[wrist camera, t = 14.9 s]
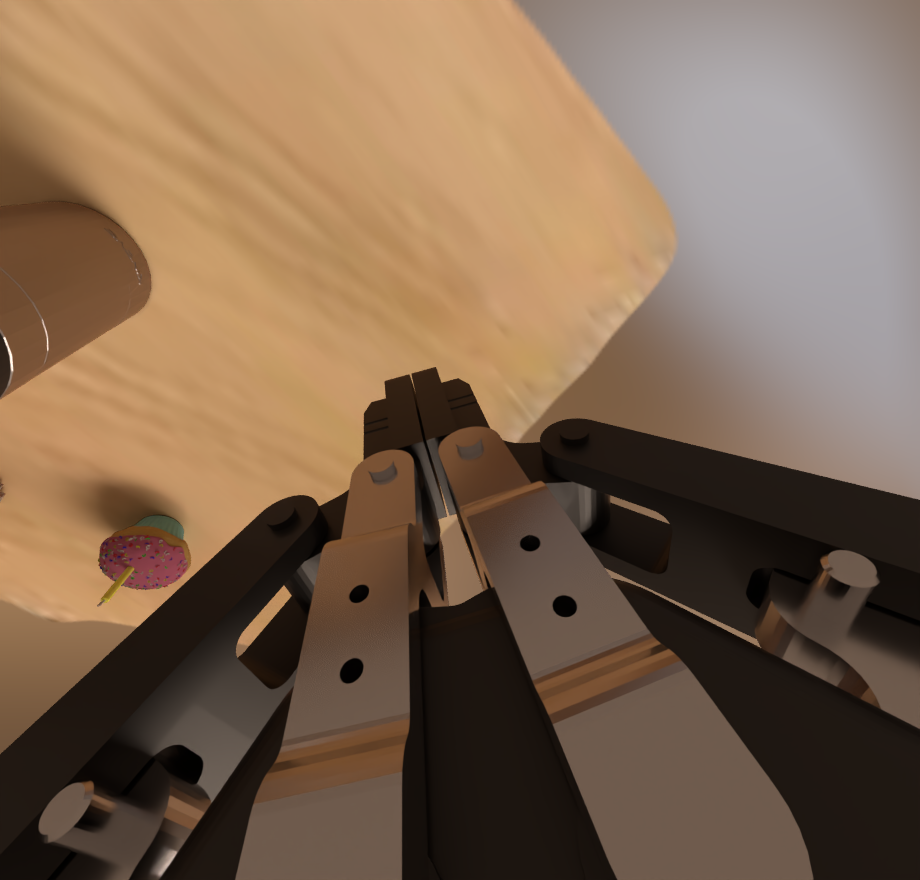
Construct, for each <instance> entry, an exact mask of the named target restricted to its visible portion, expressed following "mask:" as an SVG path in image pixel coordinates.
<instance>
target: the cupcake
mask: <svg viewBox="0 0 920 880" xmlns="http://www.w3.org/2000/svg"><path fill="white" fill-rule="evenodd" d="M183 536H184V530H183V527H182V526H181V524H180V523H179V522H177V521H176V520H174V519H172V518H170V517H167V516H161V515H153V516H148V517H146V518H144V519H142V520H141V521H140V522H138V523H137V524H136V525H134V526H131V527H128V528H126V529H124V530H121V531H117V532H115V533H114V534H113V535H112V536H111V537H109V538H107V539H106V540H105V541H104V542H103V543H102V544H101V547H100V555H99V559H98V561H99V563H100V564H99V566H100V565H101V566H100V569H102V572H103V573H104V574H105V575H107V576H108V577H109V578H110V579H112V580H113V581H115V583H114V584H113V585H112V586H111V587H110V589H109V590H108V591H107V592H106V593H105V595H104V596H103V597H102V598H101V602H100V603H99V605H97V606H98V607H99V606H101V605H102V603H107V602H108V601H109V600H110V599H111V598H112V596H113V595H114V594H115V593H116V591H117V590H118V589H119V588H120V586H122V585H124V586H125V587H129V588H133V589H134V588H135V589H137V590H138V589H145V590H146V589H159V588H161V587H166V586H167V585H169V584H171V583H173V582H176V581H177V580H178V579H180V578H181V577H182V575H183V574H184V573H185V572H186V571H187V570H188V569H189V567H190V564H191V555H190V552H189V548H188V545H187V543H186V542H185V541H184V540H183Z"/></svg>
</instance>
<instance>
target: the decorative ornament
mask: <svg viewBox="0 0 920 880" xmlns="http://www.w3.org/2000/svg"><path fill="white" fill-rule="evenodd" d="M3 485H4V484H1V483H0V489H1V488H2V486H3ZM5 494H6V493H3V492H0V501H1V500H2V498H3V497H4V495H5Z"/></svg>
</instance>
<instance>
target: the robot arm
mask: <svg viewBox="0 0 920 880" xmlns="http://www.w3.org/2000/svg"><path fill="white" fill-rule="evenodd" d="M150 291H151V275H150V271H149V268H148V264H147V262H146V260H145V258H144V256H143V254H142V252H141V250H140V249H139V248H138V246H137V245H136V243H135V242H134V241H133V239H132V238H131V237H130V236H129V235H128V234H127V233H126V232H125V231H124V230H123V229H122V228H121V227H119V226H118V225H117V224H115V223H114V222H113V221H111V220H110V219H109V218H107V217H105V216H104V215H102V214H100V213H98V212H96V211H94V210H92V209H89V208H87V207H84V206H81V205H78V204H73V203H68V202H42V203H32V204H23V205H10V206H1V207H0V399H2V398H3V397H5V396H6V395H8V394H10V393H11V392H13V391H14V390H16V389H17V388H19V387H21V386H22V385H24V384H25V383H27V382H28V381H30V380H31V379H33V378H34V377H36V376H38V375H39V374H41V373H42V372H44V371H45V370H47V369H49V368H50V367H52V366H53V365H55V364H57V363H58V362H60V361H61V360H63V359H65V358H66V357H68V356H69V355H71V354H72V353H74V352H76V351H77V350H79V349H80V348H82V347H84V346H85V345H87V344H88V343H90V342H91V341H93V340H95V339H96V338H98V337H99V336H101V335H103V334H104V333H106V332H107V331H109V330H111V329H112V328H114V327H116V326H117V325H119V324H120V323H122V322H124V321H125V320H127V319H128V318H130V317H132V316H133V315H135V314H136V313H138V312H139V311H140V310H141V309H142V308H143V307H144V306H145V304H146V302H147V300H148V298H149V295H150ZM412 379H413V383H414V387H413V384H412V380H411V377H410V375H405V376H401V377H398V378H394V379H390V380H387V381H385V393H386V398H385V399H382V400H378V401H375V402H371V404H370V405H369V407H368V408H367V410H366V411H365V413H364V460H363V461H362V462H361V463H360V464H359V465H358V466H357V467H356V468H355V469H354V471H353V473H352V476H351V481H350V488H349V490H348V491H346V492H345V493H343V494H342V495H340V496H338V497H336V498H335V499H333V500H331V501H329V502H327V503H325V504H323V505H321V506H318V504H317V502H316V501H315V499H313V498H312V497H309V496H305V495H297V496H291V497H288V498H285V499H282V500H280V501H278V502H276V503H274V504H272V505H271V506H269V507H268V508H266V509H265V510H264V511H263V512H262V513H261V514H259V515H258V516H257V517H256V518H255V519H254V520H253V521H252V522H251V523H250V524H249V525H248V526H246V527H245V528H244V529H243V530H242V531H241V532H240V533H239V534H238V535H237V536H236V537H235V538H234V539H232V540H231V541H230V542H229V543H228V544H227V545H226V546H225V547H224V548H223V549H222V550H221V551H219V552H218V553H217V554H216V555H215V556H214V557H213V558H212V559H211V560H210V561H209V562H208V563H206V564H205V565H204V566H203V567H202V568H201V569H200V570H199V571H198V572H197V573H196V574H195V575H194V576H192V577H191V578H190V579H189V580H188V581H187V582H186V583H185V584H184V585H183V586H182V587H181V588H179V589H178V590H177V591H176V592H175V593H174V594H173V595H172V596H171V597H170V598H169V599H168V600H167V601H165V602H164V603H163V604H162V605H161V606H160V607H159V608H158V609H157V610H156V611H155V612H154V613H152V614H151V615H150V616H149V617H148V618H147V619H146V620H145V621H144V622H143V623H142V624H141V625H140V626H138V627H137V628H136V629H135V630H134V631H133V632H132V633H131V634H130V635H129V636H128V637H127V638H126V639H124V640H123V641H122V642H121V643H120V644H119V645H118V646H117V647H116V648H115V649H114V650H113V651H111V652H110V653H109V655H107V656H106V657H105V658H104V659H103V660H102V661H101V662H100V663H98V665H96V666H95V667H94V668H93V669H92V670H91V671H90V672H89V673H88V674H87V675H85V676H84V677H83V678H82V679H81V680H80V681H79V682H78V683H77V684H76V685H75V686H74V687H73V688H71V689H70V690H69V691H68V692H67V693H66V694H65V695H64V696H63V697H62V698H61V699H60V700H58V701H57V702H56V703H55V704H54V705H53V706H52V707H51V708H50V709H49V710H48V711H47V712H46V713H44V714H43V715H42V716H41V717H40V718H39V719H38V720H37V721H36V722H35V723H34V724H33V725H32V726H31V727H29V728H28V729H27V730H26V731H25V732H24V733H23V734H22V735H21V736H20V737H19V738H17V739H16V740H15V741H14V742H13V743H12V744H11V745H10V746H9V747H8V748H7V749H6V750H4V751H3V752H2V753H1V754H0V880H920V500H918V499H913V498H909V497H905V496H901V495H897V494H893V493H889V492H885V491H880V490H877V489H872V488H868V487H864V486H860V485H856V484H852V483H848V482H843V481H840V480H835V479H831V478H827V477H823V476H819V475H815V474H811V473H807V472H802V471H798V470H794V469H790V468H786V467H782V466H778V465H774V464H770V463H766V462H761V461H757V460H753V459H749V458H745V457H741V456H737V455H733V454H728V453H724V452H720V451H716V450H712V449H708V448H704V447H700V446H696V445H691V444H687V443H683V442H679V441H675V440H671V439H667V438H662V437H658V436H654V435H650V434H646V433H642V432H637V431H634V430H630V429H625V428H621V427H617V426H613V425H608V424H605V423H601V422H597V421H592V420H588V419H566V420H562V421H559V422H556V423H554V424H552V425H550V426H549V427H547V428H546V429H545V430H544V431H543V433H542V434H541V437H540V442H537V443H536V442H535V443H512V442H507V441H504V440H502V438H501V437H500V435H499V434H498V433H497V432H496V431H494V430H492V429H490V427H489V425H488V423H487V421H486V419H485V417H484V414H483V412H482V410H481V408H480V406H479V404H478V403H477V400H476V398H475V396H474V394H473V391H472V389H471V387H470V385H469V384H468V383H466V382H464V381H462V380H460V379H459V378H457V379H454V380H450V381H447V382H443V383H441V380H440V377H439V374H438V372H437V369H436V367H434V368H430V369H427V370H423V371H419V372H416V373H412ZM414 388H415V390H414ZM415 392H416V393H415ZM439 483H440V484H439ZM440 486H441V489H440ZM441 490H442V493H443V496H444V499H445V502H446V506H447V509H448V512H449V515H454V514H457V517H458V521H459V524H460V527H461V531H462V534H463V538H464V540H465V543H466V546H467V549H468V551H469V554H470V557H471V560H472V562H473V565H474V568H475V570H476V573H477V576H478V578H479V581H480V584H481V586H482V589H483V592H481V593H480V594H478V595H476V596H474V597H472V598H471V599H469V600H467V601H465V602H464V603H462V604H459V605H455V606H449V601H448V592H447V581H446V572H445V562H444V552H443V545H442V541H441V538H440V526H439V521H438V519H441V518H444V517H447V514H446V510H445V506H444V501H443V497H442V493H441ZM610 495H611V496H614V497H617V498H620V499H622V500H625V501H628V502H631V503H634V504H637V505H639V506H642V507H646V508H648V509H651V510H653V511H656V512H658V513H659V514H661V515H662V516H664V517H665V518H666V519H667V520H668V522H669V523H670V524H668V523H665V522H662V521H659V520H657V519H654V518H651V517H648V516H646V515H643V514H640V513H637V512H635V511H632V510H629V509H627V508H624V507H621V506H618V505H615V504H612V503H610ZM605 568H606V569H609V570H611V571H613V572H615V573H617V574H619V575H622V576H623V577H625V578H628V579H630V580H632V581H634V582H636V583H638V584H640V585H643V586H645V587H647V588H649V589H651V590H653V591H655V592H657V593H660V594H662V595H664V596H666V597H668V598H670V599H672V600H675V601H677V602H679V603H681V604H683V605H685V606H687V607H689V608H692V609H694V610H696V611H698V612H700V613H702V614H704V615H706V616H708V617H711V618H713V619H715V620H717V621H719V622H721V623H723V624H726V625H728V626H730V627H732V628H734V629H736V630H738V631H740V632H743V633H745V634H747V635H749V636H751V637H754V638H755V639H757V641H758V643H759V645H760V647H761V648H760V647H758V646H756V645H754V644H752V643H750V642H748V641H746V640H744V639H742V638H740V637H738V636H736V635H734V634H732V633H730V632H728V631H726V630H724V629H722V628H721V627H718V626H717V625H715V624H713V623H711V622H709V621H707V620H704V619H703V618H701V617H699V616H697V615H695V614H693V613H691V612H689V611H687V610H685V609H683V608H681V607H679V606H677V605H675V604H673V603H671V602H669V601H668V600H666V599H664V598H662V597H660V596H658V595H655V594H654V593H652V592H650V591H647V590H645V589H643V588H641V587H638V586H636V585H633V584H630V583H628V582H624V581H621V580H617V579H613V578H611V576H610V575H609V574H608V572H607V571H606V570H605ZM283 585H284V586H285V587H286V588H287V590H288V591H289V592H290V594H291V595H292V596H291V598H290V599H289V600H288V601H287V602H286V603H285V605H284V606H283V607H282V608H281V609H280V611H279V612H278V613H277V614H276V615H275V616H274V618H273V619H272V620H271V621H270V622H269V623H268V625H267V626H266V627H265V628H264V629H263V631H262V632H261V633H260V634H259V635H258V636H257V638H256V639H255V640H254V641H253V642H252V644H251V645H250V646H249V647H248V648H247V649H246V651H245V652H244V653H243V654H242V655H241V656H239V657H238V658H237V656H236V645H237V642H238V639H239V637H240V635H241V634H242V632H243V631H244V630H245V629H246V627H247V626H248V625H249V624H250V623H251V622H252V621H253V619H254V618H255V617H256V616H257V615H258V614H259V613H260V612H261V610H262V609H263V608H264V607H265V606H266V605H267V604H268V602H269V601H270V600H271V599H272V598H273V597H274V596H275V595H276V593H277V592H278V591H279V590H280V589H281V588H282V587H283Z"/></svg>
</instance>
